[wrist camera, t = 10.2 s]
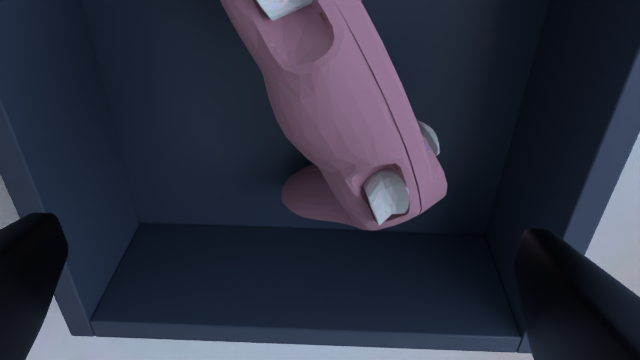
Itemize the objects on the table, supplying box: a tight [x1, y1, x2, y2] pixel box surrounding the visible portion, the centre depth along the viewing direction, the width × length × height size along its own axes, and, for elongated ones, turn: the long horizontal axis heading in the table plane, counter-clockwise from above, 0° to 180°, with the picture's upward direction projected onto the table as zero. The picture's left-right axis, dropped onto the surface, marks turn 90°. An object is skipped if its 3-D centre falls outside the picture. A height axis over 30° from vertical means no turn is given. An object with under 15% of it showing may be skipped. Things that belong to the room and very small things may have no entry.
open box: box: [0, 0, 640, 353], centre depth 14 cm, size 16×15×6 cm
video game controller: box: [220, 0, 447, 230], centre depth 13 cm, size 10×5×7 cm, turn 27°
